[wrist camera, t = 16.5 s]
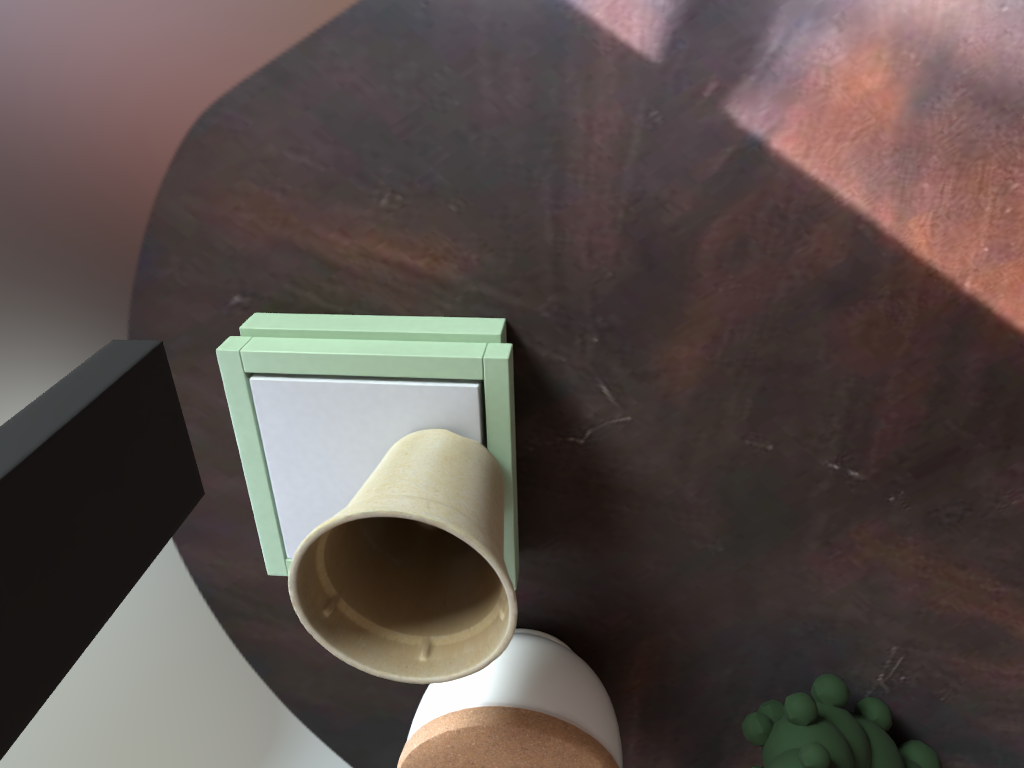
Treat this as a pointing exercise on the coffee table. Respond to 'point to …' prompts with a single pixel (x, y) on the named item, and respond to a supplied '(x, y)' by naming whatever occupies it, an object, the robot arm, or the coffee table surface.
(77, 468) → the robot arm
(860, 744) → the toy figurine
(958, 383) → the coffee table surface
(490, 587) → the flower pot
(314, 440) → the pan
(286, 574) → the scale
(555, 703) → the lidded bowl
